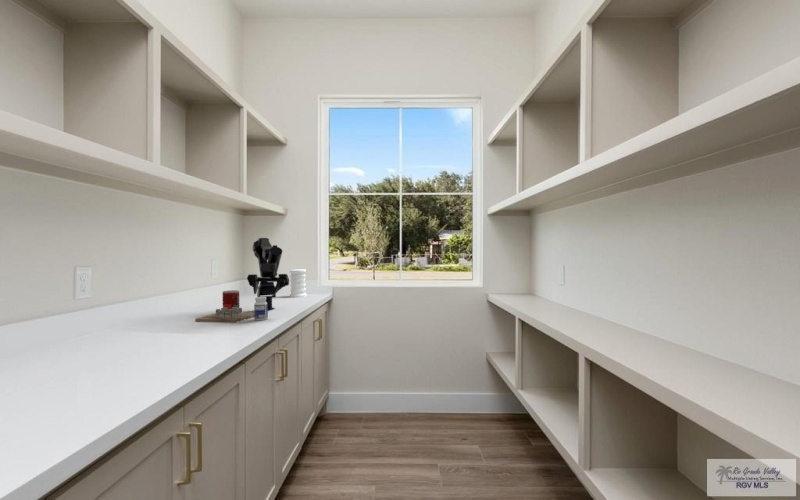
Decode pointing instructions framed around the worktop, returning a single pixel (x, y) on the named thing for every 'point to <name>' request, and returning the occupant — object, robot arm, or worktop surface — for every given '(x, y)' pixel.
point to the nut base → (230, 319)
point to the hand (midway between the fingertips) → (264, 293)
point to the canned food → (230, 299)
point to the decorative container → (298, 283)
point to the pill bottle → (261, 308)
